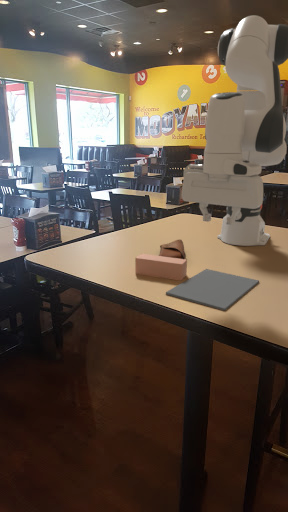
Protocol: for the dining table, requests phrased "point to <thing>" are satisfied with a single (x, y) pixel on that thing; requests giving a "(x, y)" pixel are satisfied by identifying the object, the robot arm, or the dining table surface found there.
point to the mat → (213, 289)
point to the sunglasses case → (173, 250)
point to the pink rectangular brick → (161, 266)
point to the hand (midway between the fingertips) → (218, 222)
